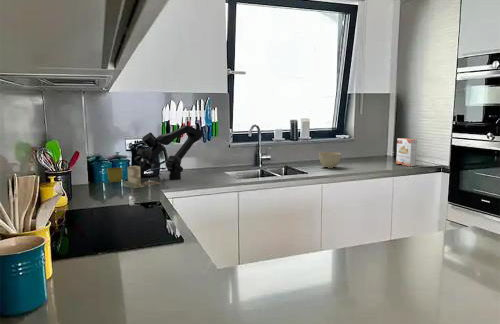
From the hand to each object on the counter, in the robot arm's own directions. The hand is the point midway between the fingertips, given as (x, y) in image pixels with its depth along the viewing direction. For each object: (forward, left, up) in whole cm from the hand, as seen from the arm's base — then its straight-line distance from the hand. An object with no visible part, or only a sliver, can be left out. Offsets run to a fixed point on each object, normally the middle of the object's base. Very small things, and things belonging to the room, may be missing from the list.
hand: (138, 173), depth 218 cm
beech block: (+2, +1, -7) cm, 7 cm away
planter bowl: (-139, -30, -8) cm, 142 cm away
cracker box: (-198, -18, -8) cm, 199 cm away
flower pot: (+13, -19, -8) cm, 24 cm away
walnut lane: (-3, -2, -8) cm, 9 cm away
